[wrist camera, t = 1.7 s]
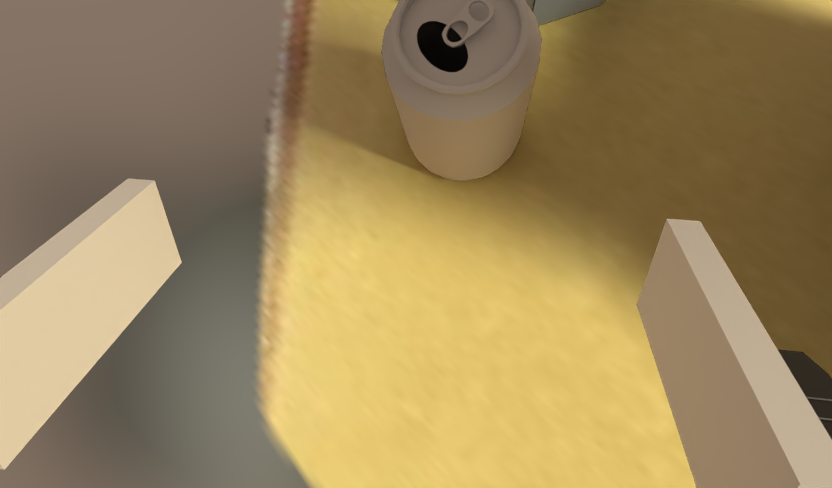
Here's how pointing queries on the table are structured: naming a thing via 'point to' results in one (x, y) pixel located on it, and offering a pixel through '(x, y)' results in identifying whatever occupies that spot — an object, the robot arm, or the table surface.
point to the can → (462, 80)
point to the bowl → (559, 8)
